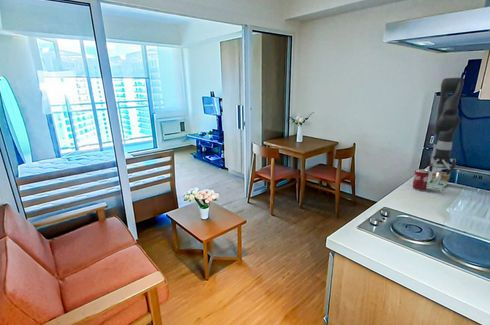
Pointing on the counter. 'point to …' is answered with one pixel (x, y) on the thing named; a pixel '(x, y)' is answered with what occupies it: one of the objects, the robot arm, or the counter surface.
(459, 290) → the counter surface
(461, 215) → the counter surface
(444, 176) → the tan and green block
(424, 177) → the soda can
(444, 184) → the tray
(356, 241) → the counter surface
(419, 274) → the counter surface
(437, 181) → the lock pin
